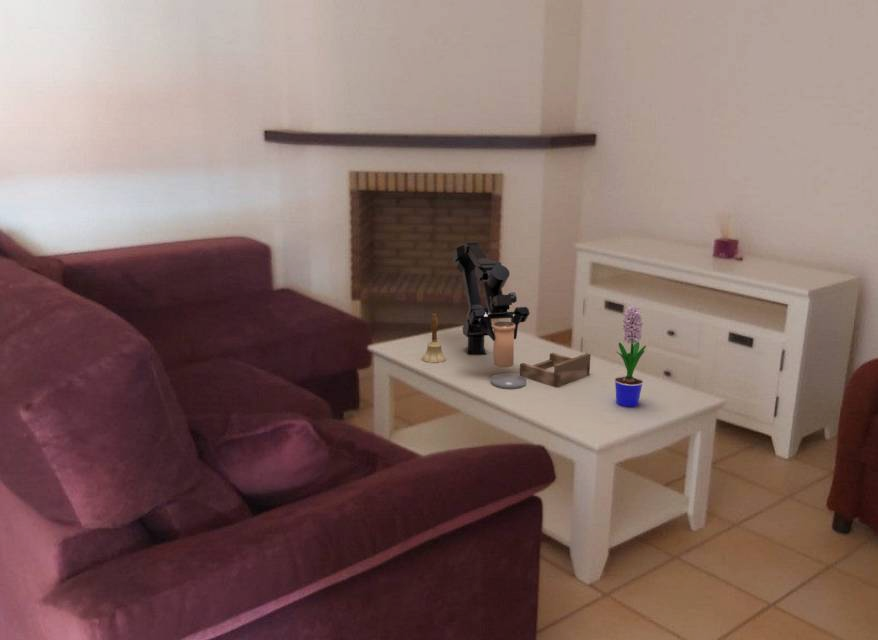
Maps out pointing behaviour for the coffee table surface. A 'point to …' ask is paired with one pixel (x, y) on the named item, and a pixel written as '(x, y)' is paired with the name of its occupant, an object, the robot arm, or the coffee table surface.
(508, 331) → the pot
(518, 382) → the saucer
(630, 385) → the hyacinth
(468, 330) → the robot arm
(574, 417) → the coffee table surface
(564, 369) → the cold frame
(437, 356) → the hand bell
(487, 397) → the coffee table surface
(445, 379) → the coffee table surface
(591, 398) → the coffee table surface
